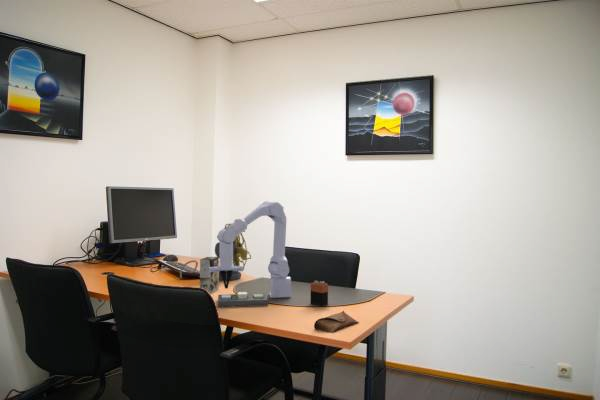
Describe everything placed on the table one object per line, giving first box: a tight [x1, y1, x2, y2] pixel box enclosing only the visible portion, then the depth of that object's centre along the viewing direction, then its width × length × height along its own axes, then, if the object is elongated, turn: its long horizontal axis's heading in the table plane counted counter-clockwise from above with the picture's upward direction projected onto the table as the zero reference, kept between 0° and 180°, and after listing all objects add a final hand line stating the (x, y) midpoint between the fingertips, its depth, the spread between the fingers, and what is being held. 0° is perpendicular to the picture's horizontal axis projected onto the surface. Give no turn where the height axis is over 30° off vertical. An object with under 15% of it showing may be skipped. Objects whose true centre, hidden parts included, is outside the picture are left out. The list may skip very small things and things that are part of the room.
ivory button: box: [237, 291, 248, 299], centre depth 213 cm, size 4×4×3 cm
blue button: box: [221, 294, 231, 299], centre depth 212 cm, size 4×4×3 cm
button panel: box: [217, 293, 269, 308], centre depth 213 cm, size 21×12×2 cm, turn 99°
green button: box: [253, 293, 263, 298], centre depth 214 cm, size 4×4×3 cm
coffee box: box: [199, 256, 220, 294], centre depth 235 cm, size 9×6×16 cm
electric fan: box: [179, 223, 252, 282], centre depth 262 cm, size 26×32×30 cm
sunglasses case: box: [313, 310, 360, 334], centre depth 181 cm, size 18×7×7 cm
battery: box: [310, 280, 329, 307], centre depth 212 cm, size 4×7×10 cm, turn 47°
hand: (226, 288), depth 211 cm, fingers closed
